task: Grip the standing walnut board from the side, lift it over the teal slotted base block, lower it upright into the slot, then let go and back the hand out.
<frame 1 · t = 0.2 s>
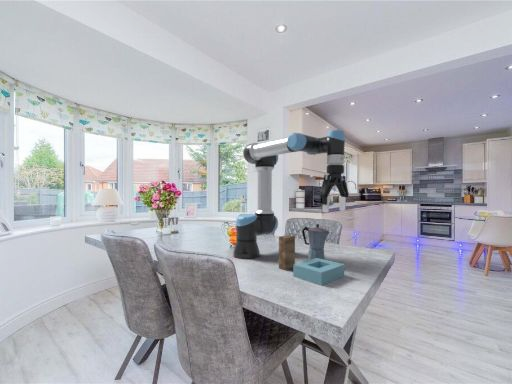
hand: (334, 211, 111), 27 cm above the table, tool pointing down, fingers open, 13 cm apart
slotted base: (318, 276, 104), on the table
moka pot: (315, 263, 124), on the table
walnut board: (286, 267, 116), on the table
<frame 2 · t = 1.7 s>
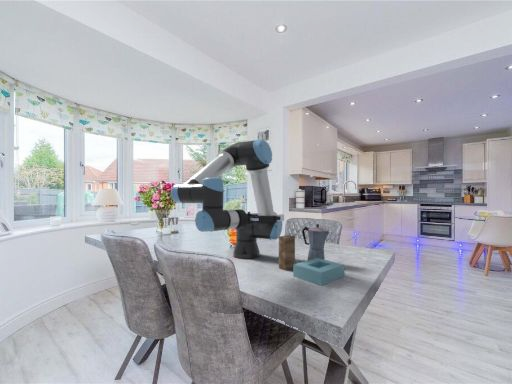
hand: (272, 216, 109), 25 cm above the table, tool horizontal, fingers open, 13 cm apart
nothing on the table moved.
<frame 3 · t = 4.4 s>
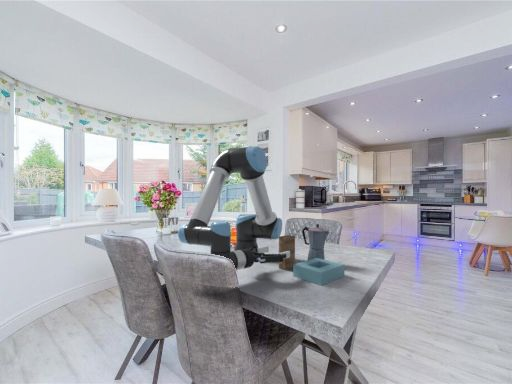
hand: (278, 251, 112), 9 cm above the table, tool horizontal, fingers open, 13 cm apart
nothing on the table moved.
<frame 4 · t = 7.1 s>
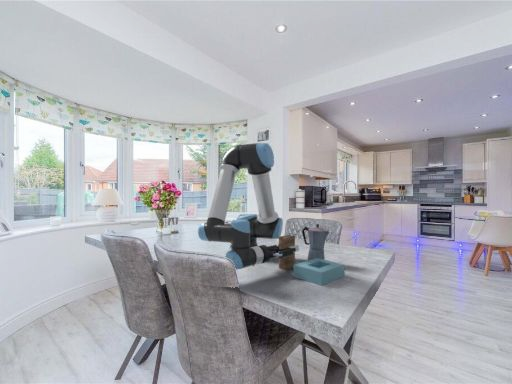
hand: (294, 247, 120), 9 cm above the table, tool horizontal, fingers closed on walnut board, 4 cm apart
walnut board: (286, 267, 116), on the table, touching gripper
everything else where it was.
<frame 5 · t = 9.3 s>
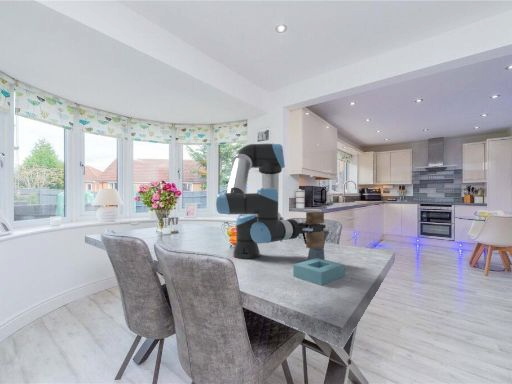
hand: (322, 225, 108), 21 cm above the table, tool horizontal, fingers closed on walnut board, 4 cm apart
walnut board: (315, 247, 104), point 12 cm above the table, touching gripper
everything else where it was.
when the fingers open (11 cm above the table, at t = 11.5 s): walnut board drops 1 cm, resting on slotted base.
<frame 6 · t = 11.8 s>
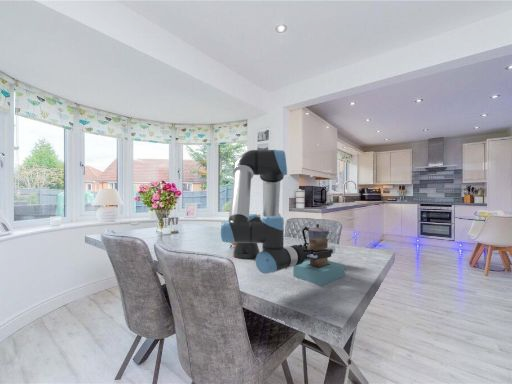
hand: (325, 247, 107), 11 cm above the table, tool horizontal, fingers open, 8 cm apart
walnut board: (318, 273, 104), point 1 cm above the table, touching slotted base
everything else where it was.
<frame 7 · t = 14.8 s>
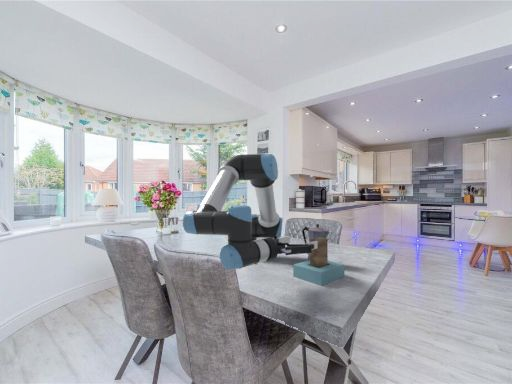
hand: (302, 241, 97), 16 cm above the table, tool horizontal, fingers open, 13 cm apart
nothing on the table moved.
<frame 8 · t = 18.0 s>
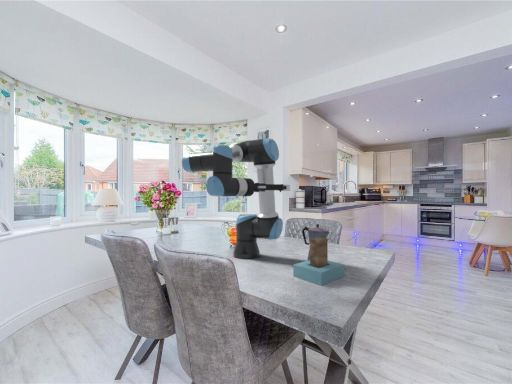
hand: (278, 188, 114), 38 cm above the table, tool horizontal, fingers open, 13 cm apart
nothing on the table moved.
at the end: walnut board 0.1 cm off-centre on the slotted base, point 1.0 cm above the slotted base's base; walnut board tilted 0°; the gripper is holding nothing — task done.
